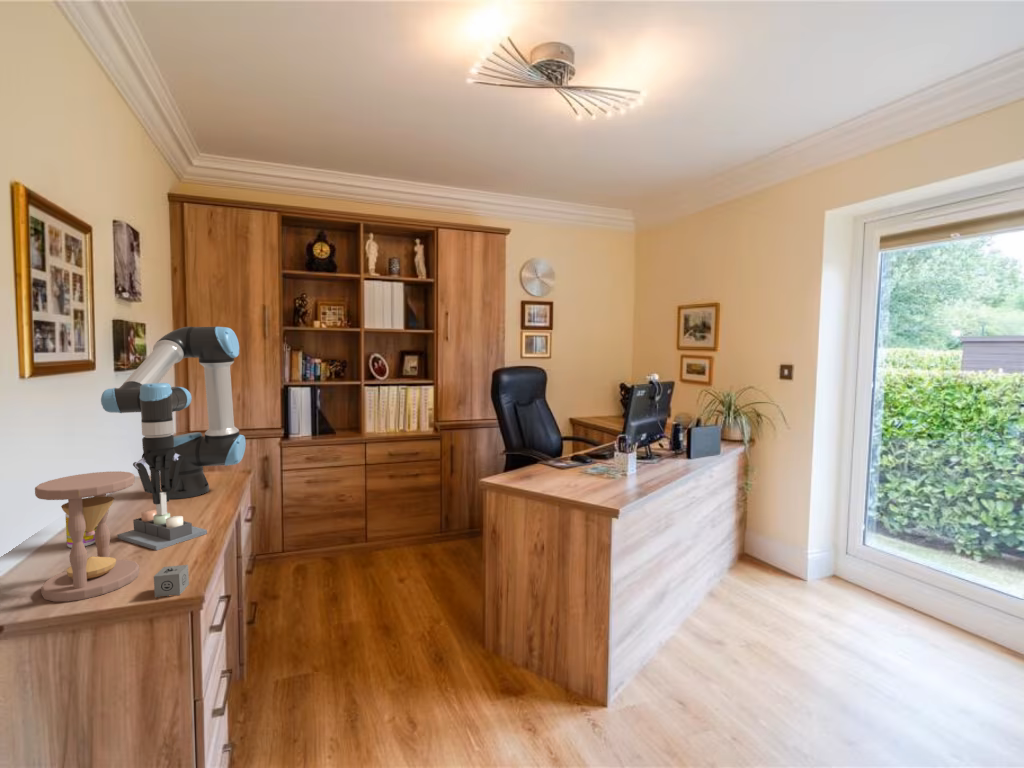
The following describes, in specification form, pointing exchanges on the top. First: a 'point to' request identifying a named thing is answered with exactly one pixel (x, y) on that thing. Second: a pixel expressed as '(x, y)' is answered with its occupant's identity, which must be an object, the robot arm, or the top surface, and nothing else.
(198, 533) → the panel
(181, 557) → the top surface
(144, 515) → the pink rounded piece
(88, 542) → the supplement bottle
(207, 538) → the top surface
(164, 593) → the dice cube
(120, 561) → the hourglass
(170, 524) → the cream button
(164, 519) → the pale green rounded piece
